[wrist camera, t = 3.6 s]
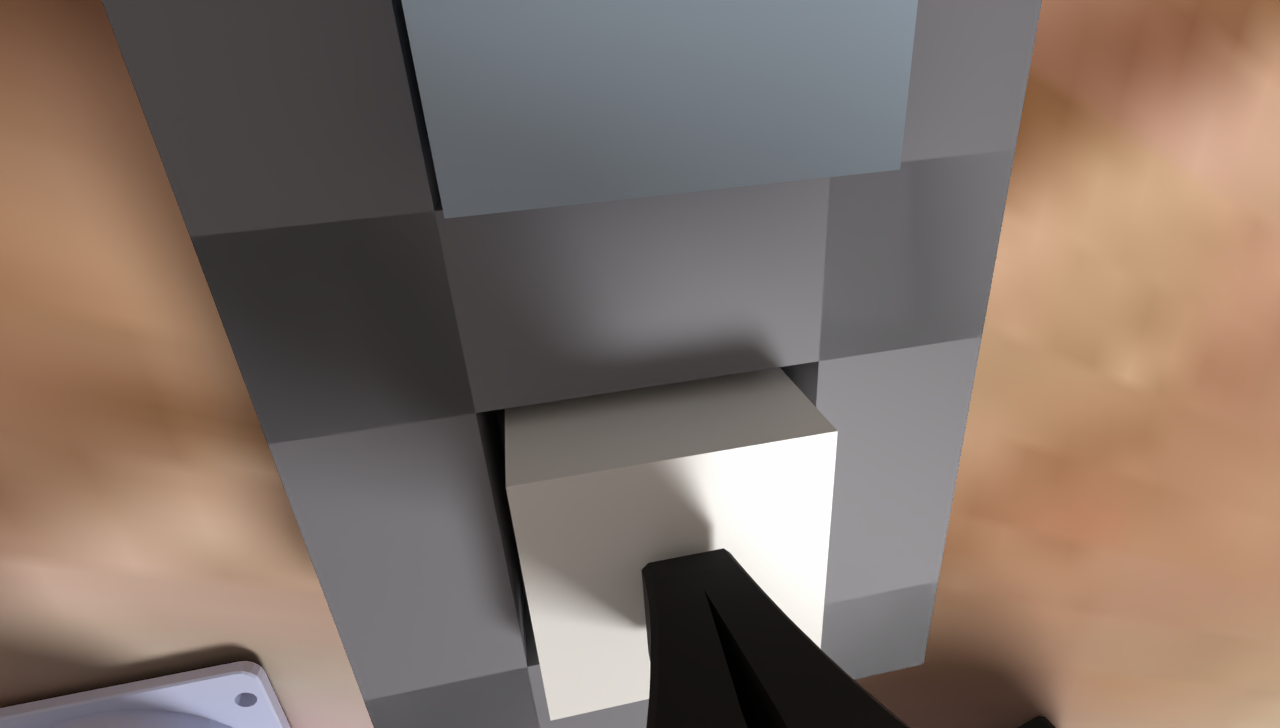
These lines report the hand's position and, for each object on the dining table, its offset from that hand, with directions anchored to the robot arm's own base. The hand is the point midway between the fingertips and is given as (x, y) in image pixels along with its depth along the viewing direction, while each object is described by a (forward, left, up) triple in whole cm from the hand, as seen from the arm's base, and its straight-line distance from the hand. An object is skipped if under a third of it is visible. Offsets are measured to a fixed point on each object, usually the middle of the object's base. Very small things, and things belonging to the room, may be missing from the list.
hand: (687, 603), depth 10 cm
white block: (0, 0, -4) cm, 4 cm away
